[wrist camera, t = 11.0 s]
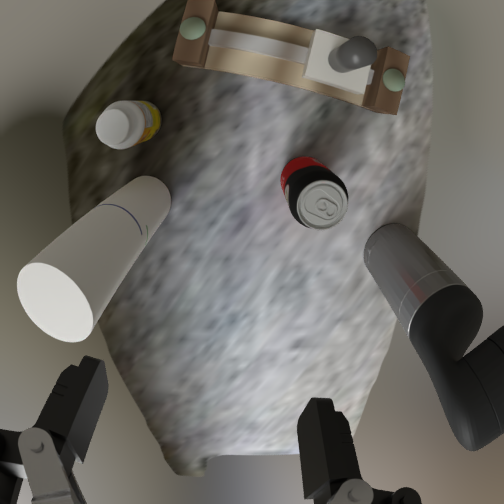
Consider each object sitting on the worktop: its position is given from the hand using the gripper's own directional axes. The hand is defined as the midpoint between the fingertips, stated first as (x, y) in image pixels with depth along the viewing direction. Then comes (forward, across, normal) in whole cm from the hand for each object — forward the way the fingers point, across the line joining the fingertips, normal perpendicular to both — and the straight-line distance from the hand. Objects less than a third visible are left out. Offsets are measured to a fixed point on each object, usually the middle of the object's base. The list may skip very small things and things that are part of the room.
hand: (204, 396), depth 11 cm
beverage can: (+33, -8, -2) cm, 34 cm away
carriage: (+30, -8, -18) cm, 36 cm away
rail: (+33, -3, -18) cm, 38 cm away
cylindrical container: (+33, +12, +5) cm, 36 cm away
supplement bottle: (+33, +14, -6) cm, 37 cm away
